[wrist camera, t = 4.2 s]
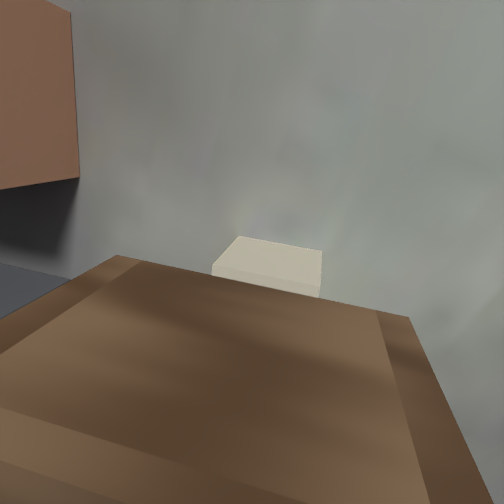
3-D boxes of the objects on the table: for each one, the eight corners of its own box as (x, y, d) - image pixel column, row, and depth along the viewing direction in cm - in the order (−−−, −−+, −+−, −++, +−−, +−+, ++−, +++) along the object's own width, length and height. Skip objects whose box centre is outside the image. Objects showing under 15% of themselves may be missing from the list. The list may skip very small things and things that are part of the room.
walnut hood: (120, 453, 11) (-38, 695, 6) (116, 254, 8) (-157, 406, 4) (337, 521, 10) (347, 882, 5) (408, 317, 7) (561, 652, 2)
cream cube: (230, 309, 17) (204, 355, 14) (239, 235, 16) (212, 264, 12) (306, 326, 17) (300, 379, 13) (321, 250, 15) (320, 286, 11)
